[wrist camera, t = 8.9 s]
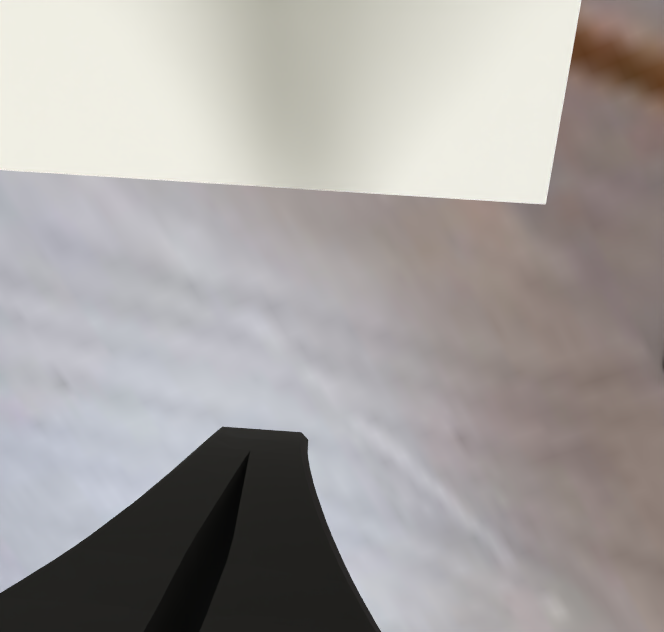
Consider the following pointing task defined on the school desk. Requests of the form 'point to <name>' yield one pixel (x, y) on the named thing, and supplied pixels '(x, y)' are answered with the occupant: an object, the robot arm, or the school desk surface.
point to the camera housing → (290, 92)
